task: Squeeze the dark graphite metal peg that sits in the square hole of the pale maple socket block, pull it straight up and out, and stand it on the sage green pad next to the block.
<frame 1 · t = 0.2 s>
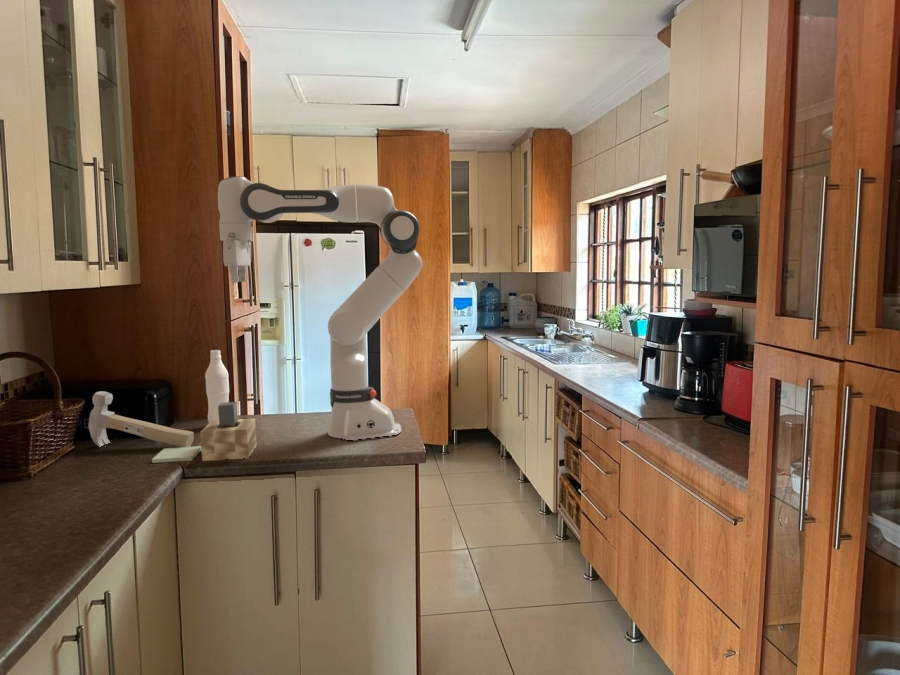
hand: (238, 282, 174), 47 cm above the worktop, tool pointing down, fingers open, 8 cm apart
socket block: (230, 452, 166), on the worktop
peg: (230, 445, 165), point 2 cm above the worktop, touching socket block
pad: (177, 455, 164), on the worktop
hammer: (142, 448, 173), on the worktop
water bottle: (220, 426, 195), on the worktop
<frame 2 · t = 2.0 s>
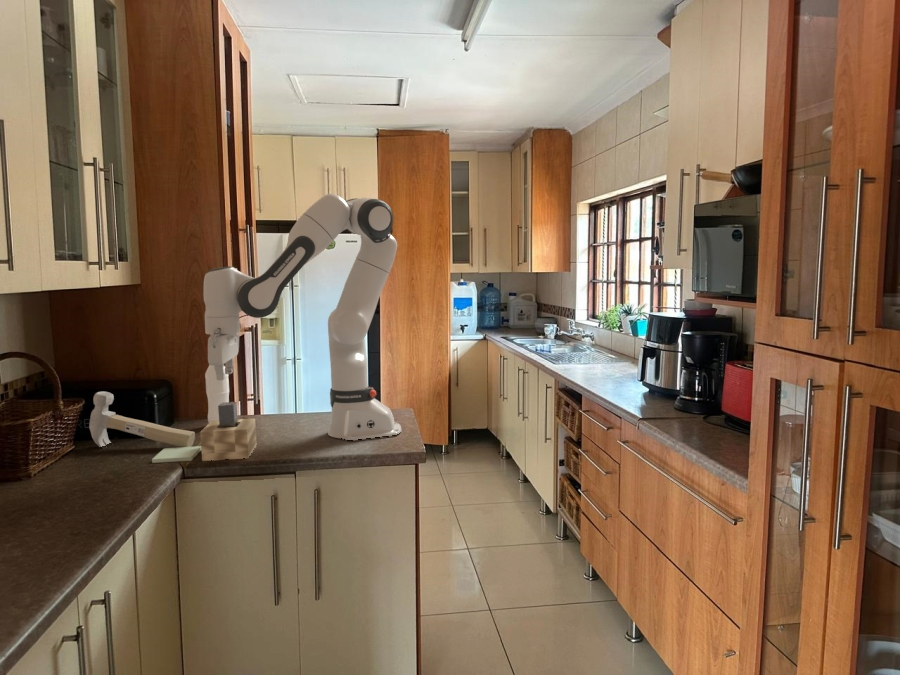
hand: (224, 376, 163), 22 cm above the worktop, tool pointing down, fingers open, 8 cm apart
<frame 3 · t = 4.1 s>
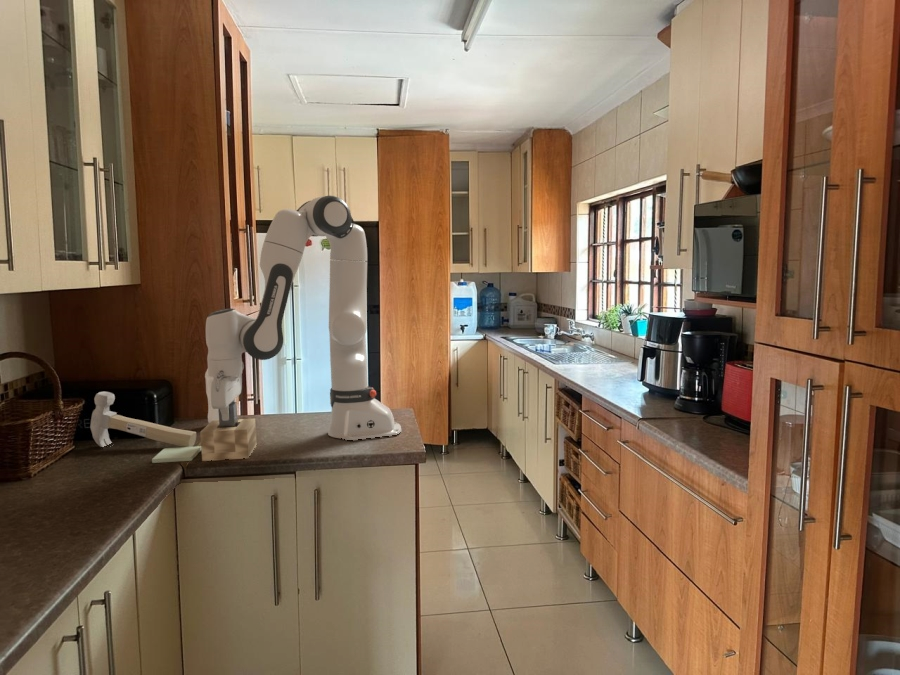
hand: (228, 417, 164), 10 cm above the worktop, tool pointing down, fingers closed on peg, 4 cm apart
peg: (230, 445, 165), point 2 cm above the worktop, touching gripper, socket block
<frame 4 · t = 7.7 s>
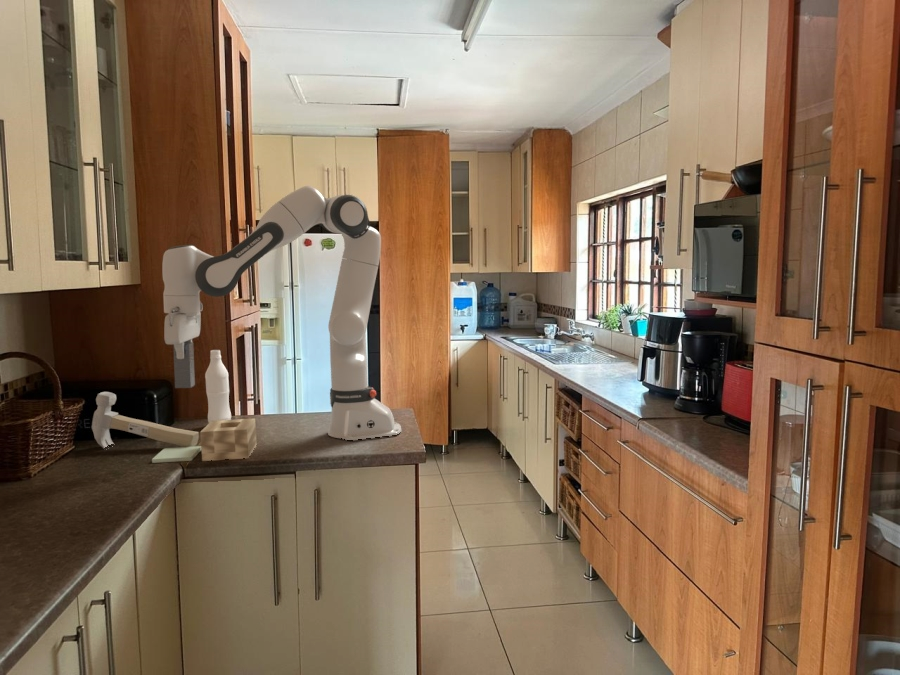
hand: (184, 357, 161), 27 cm above the worktop, tool pointing down, fingers closed on peg, 4 cm apart
peg: (185, 386, 162), point 19 cm above the worktop, touching gripper
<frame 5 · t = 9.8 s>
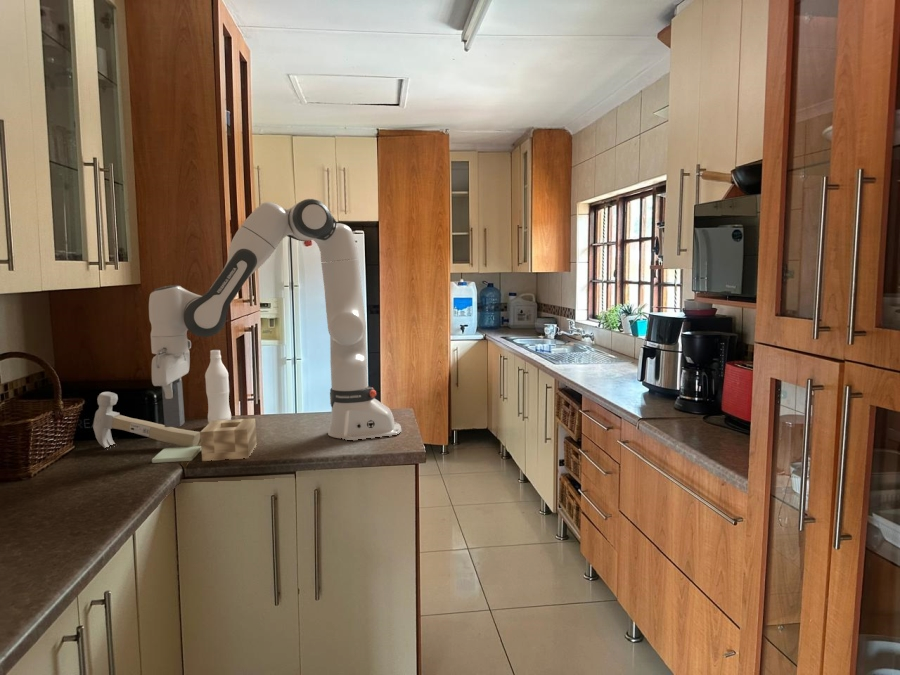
hand: (173, 396, 162), 17 cm above the worktop, tool pointing down, fingers closed on peg, 4 cm apart
peg: (174, 425, 163), point 9 cm above the worktop, touching gripper
when the fingers open (11 cm above the worktop, at t = 11.7 s): peg drops 2 cm, resting on pad.
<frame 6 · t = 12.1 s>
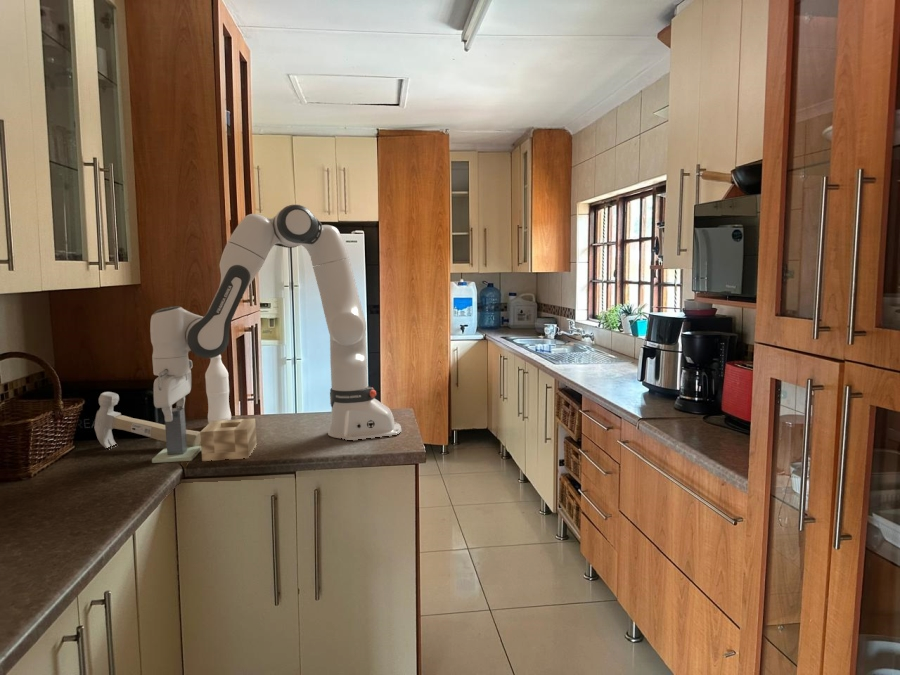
hand: (175, 416, 162), 11 cm above the worktop, tool pointing down, fingers open, 8 cm apart
peg: (177, 452, 164), point 1 cm above the worktop, touching pad
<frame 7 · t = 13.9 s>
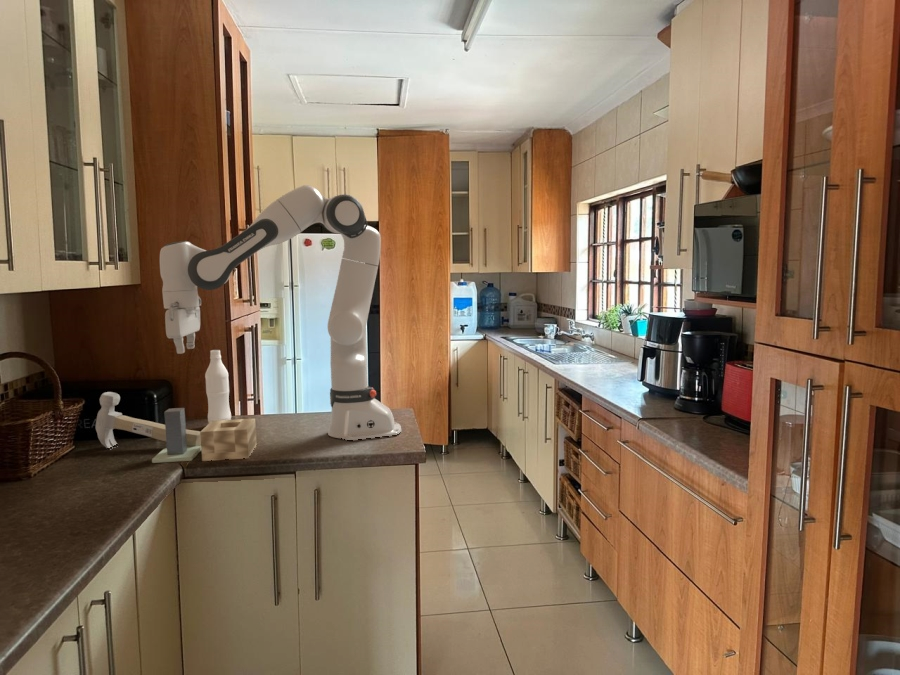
hand: (186, 350, 165), 29 cm above the worktop, tool pointing down, fingers open, 8 cm apart
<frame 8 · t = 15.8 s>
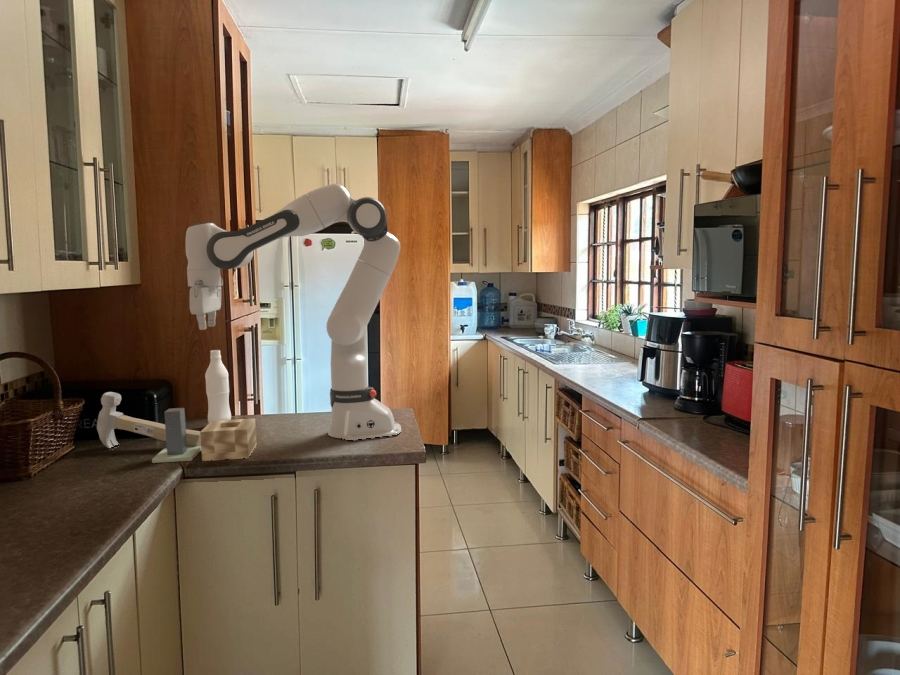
hand: (207, 327, 172), 34 cm above the worktop, tool pointing down, fingers open, 8 cm apart
at the end: peg 0.1 cm off-centre on the pad, point 1.0 cm above the pad's base; peg tilted 0°; the gripper is holding nothing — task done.
